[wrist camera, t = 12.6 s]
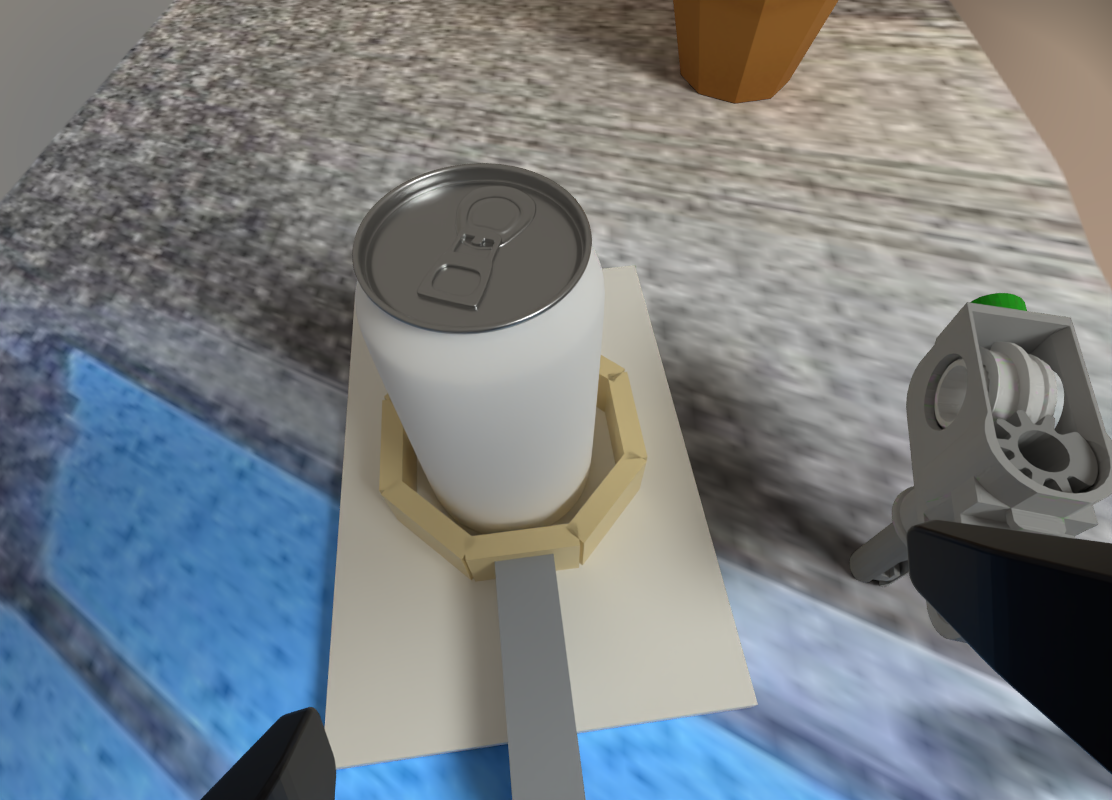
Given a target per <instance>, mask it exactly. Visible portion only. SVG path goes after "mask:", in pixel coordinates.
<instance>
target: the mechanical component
mask: <svg viewBox="0 0 1112 800" xmlns="http://www.w3.org/2000/svg"><path fill="white" fill-rule="evenodd" d="M1052 370H1053V371H1054V372H1056V373H1057V374H1058V376H1059V377H1060V379H1061V381H1062V384H1063V388H1064V406H1063V411H1062V414H1061V417H1060V420H1059V422H1058V424H1057V426H1056V427H1055V429H1054V425H1055V418H1054V417H1053V415H1054V411H1055V407H1056V403H1057V383H1056V378H1055V375H1054V373H1053V371H1052ZM906 410H907V421H908V431H909V440H910V450H911V460H912V470H913V479H914V486H913V487H910V488H908V489H906V490H904V491H903V492H901V493H900V494H899V495H898V496H897V498H896V499H895V501H894V504H893V507H892V521H893V522H892V523H891V524H890V525H889V526H887V527H886V528H885V529H883V530H882V531H881V532H879V533H878V534H877V535H876V536H874V537H873V538H872V539H870V540H869V541H868V542H867V543H865V544H864V545H863V546H861V547H860V548H859V549H858V550H856V551H855V552H854V553H853V554H852V556H851V558H850V569H851V572H852V574H853V576H854V577H855V578H856V580H859V581H861V582H866V583H868V582H870V581H871V580H873V579H875V580H879V586H881V587H886V586H888V585H890V584H892V583H893V582H895V581H897V580H898V579H900V578H902V577H903V576H905V575H907V574H908V573H909V567H908V553H907V539H906V534H907V531H908V529H909V528H910V527H911V526H913V525H916V524H920V523H923V522H926V521H930V520H943V521H951V522H958V523H965V524H973V525H980V526H987V527H994V528H1002V529H1009V530H1016V531H1024V532H1031V533H1038V534H1046V535H1053V536H1060V537H1068V538H1075V536H1076V535H1078V534H1080V533H1082V532H1084V531H1086V530H1088V529H1090V528H1093V527H1095V526H1097V525H1098V522H1097V519H1096V515H1095V511H1094V508H1093V504H1095V503H1097V502H1099V501H1101V500H1103V499H1105V498H1107V497H1108V496H1109V495H1111V494H1112V440H1111V438H1110V437H1109V436H1108V434H1107V433H1106V431H1105V427H1104V424H1103V421H1102V418H1101V414H1100V411H1099V408H1098V405H1097V401H1096V398H1095V395H1094V391H1093V388H1092V385H1091V382H1090V378H1089V375H1088V372H1087V369H1086V365H1085V362H1084V359H1083V355H1082V352H1081V349H1080V346H1079V342H1078V339H1077V336H1076V333H1075V329H1074V326H1073V323H1072V320H1071V318H1070V317H1063V316H1056V315H1050V314H1043V313H1036V312H1029V311H1027V309H1026V305H1025V302H1024V301H1023V300H1022V298H1020V297H1018V296H1016V295H1013V294H1008V293H996V294H990V295H986V296H982V297H979V298H977V299H975V300H973V301H972V302H970V303H969V302H967V303H966V304H965V305H964V307H963V308H962V309H961V310H960V311H959V312H958V314H957V315H956V316H955V317H954V318H953V320H952V321H951V322H950V323H949V324H948V325H947V327H946V328H945V329H944V330H943V331H942V333H941V334H940V335H939V336H938V337H937V338H936V342H935V345H934V346H933V347H932V349H931V350H930V351H929V352H928V353H927V354H926V356H925V357H924V358H923V359H922V360H921V362H920V363H919V364H918V366H917V368H916V369H915V371H914V374H913V376H912V378H911V381H910V384H909V389H908V393H907V402H906ZM1075 539H1076V538H1075ZM926 604H927V610H928V614H929V617H930V620H931V622H932V624H933V626H934V628H935V629H936V631H937V632H938V633H939V634H940V635H941V636H943V637H944V638H946V639H951V640H955V641H960V642H964V643H967V642H966V641H965V640H964V639H963V638H962V637H961V636H960V635H959V634H958V633H957V632H956V631H955V630H954V629H953V628H952V627H951V626H950V624H949V623H948V622H947V621H946V620H945V619H944V618H943V617H942V616H941V615H940V614H939V613H938V612H937V611H936V610H935V609H934V608H933V607H932V606H931V605H930V604H929V603H928V602H927V601H926Z"/></svg>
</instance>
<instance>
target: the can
mask: <svg viewBox="0 0 1112 800" xmlns="http://www.w3.org/2000/svg"><path fill="white" fill-rule="evenodd" d="M352 259H353V267H354V271H355V275H356V277H357V284H356V291H355V309H356V315H357V319H358V323H359V327H360V330H361V333H362V335H363V338H364V340H365V343H366V345H367V348H368V350H369V352H370V354H371V357H372V359H373V361H374V364H375V366H376V368H377V370H378V372H379V375H380V377H381V379H382V381H383V383H384V386H385V388H386V390H387V392H388V394H389V397H390V399H391V401H392V403H393V405H394V408H395V410H396V412H397V414H398V416H399V419H400V421H401V423H402V425H403V427H404V429H405V432H406V434H407V436H408V438H409V440H410V442H411V445H412V447H413V449H414V451H415V453H416V455H417V457H418V460H419V462H420V464H421V466H422V468H423V470H424V472H425V474H426V477H427V479H428V481H429V483H430V485H431V487H432V489H433V491H434V493H435V495H436V497H437V498H438V500H439V502H440V503H441V505H442V506H443V507H444V509H445V510H446V511H447V512H448V513H449V514H450V515H451V516H452V517H453V518H454V519H455V520H457V521H458V522H459V523H461V524H462V525H464V526H466V527H468V528H470V529H472V530H474V531H477V532H480V533H483V534H492V533H500V532H508V531H515V530H523V529H531V528H538V527H546V526H550V525H551V524H553V523H555V522H556V521H558V520H559V519H560V518H562V517H563V516H564V515H565V514H566V513H567V512H568V511H569V510H570V509H571V508H572V507H573V506H574V505H575V503H576V502H577V501H578V499H579V497H580V496H581V494H582V492H583V490H584V488H585V485H586V483H587V479H588V476H589V471H590V465H591V456H592V447H593V436H594V426H595V415H596V404H597V392H598V381H599V369H600V357H601V345H602V333H603V319H604V301H605V288H604V277H603V271H602V268H601V264H600V262H599V259H598V257H597V254H596V252H595V250H594V248H593V247H592V235H591V229H590V225H589V222H588V219H587V217H586V214H585V212H584V211H583V209H582V207H581V206H580V204H579V203H578V202H577V201H576V199H575V198H574V197H573V196H572V195H571V194H570V193H569V192H568V191H566V190H565V189H564V188H563V187H561V186H560V185H558V184H557V183H555V182H554V181H552V180H550V179H548V178H546V177H544V176H542V175H540V174H538V173H535V172H532V171H529V170H526V169H523V168H519V167H514V166H509V165H501V164H488V163H476V164H463V165H455V166H450V167H445V168H441V169H437V170H434V171H430V172H427V173H424V174H422V175H419V176H417V177H415V178H412V179H410V180H408V181H406V182H404V183H403V184H401V185H399V186H397V187H396V188H394V189H393V190H391V191H390V192H389V193H387V194H386V195H385V196H384V197H382V198H381V199H380V200H379V201H378V202H377V203H376V204H375V205H374V206H373V207H372V208H371V209H370V211H369V212H368V213H367V215H366V216H365V217H364V219H363V221H362V222H361V224H360V226H359V228H358V230H357V233H356V236H355V239H354V244H353V251H352Z"/></svg>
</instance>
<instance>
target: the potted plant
mask: <svg viewBox="0 0 1112 800" xmlns="http://www.w3.org/2000/svg"><path fill="white" fill-rule="evenodd" d="M837 2H838V0H673V3H674V12H675V22H676V32H677V42H678V52H679V62H680V71H681V75H682V76H683V77H684V78H685V80H686V81H687V82H688V83H689V84H690V85H691V86H692V87H693V88H694V89H695V90H696V91H697V92H698V93H699V94H702V95H706V96H710V97H713V98H717V99H721V100H724V101H728V102H732V103H741V102H748V101H756V100H763V99H770V98H772V97H773V96H774V95H775V94H776V93H777V92H778V91H779V90H780V89H781V88H782V87H783V86H784V85H785V84H786V83H787V82H788V81H789V80H790V78H791V77H792V75H793V73H794V72H795V70H796V68H797V67H798V65H799V64H800V62H801V60H802V59H803V57H804V55H805V54H806V52H807V51H808V49H809V47H810V46H811V44H812V42H813V41H814V39H815V38H816V36H817V34H818V33H819V31H820V29H821V28H822V26H823V25H824V23H825V21H826V20H827V18H828V16H829V15H830V13H831V12H832V10H833V8H834V7H835V5H836V3H837Z"/></svg>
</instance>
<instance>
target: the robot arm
mask: <svg viewBox="0 0 1112 800" xmlns="http://www.w3.org/2000/svg"><path fill="white" fill-rule="evenodd" d="M906 539H907V553H908V567H909V576H910V579H911V581H912V583H913V585H914V587H915V588H916V590H917V591H918V592H919V593H920V594H921V595H922V596H923V597H924V598H925V600H926V601H927V602H928V603H929V604H930V605H931V606H932V607H933V608H934V609H935V610H936V611H937V612H938V613H939V614H940V615H941V616H942V617H943V618H944V619H945V620H946V621H947V622H948V623H949V624H950V626H951V627H952V628H953V629H954V630H955V631H956V632H957V633H958V634H959V635H960V636H961V637H962V638H963V639H964V640H965V641H966V642H967V643H968V644H969V645H970V646H971V647H972V648H973V649H974V650H975V652H976V653H977V654H978V655H979V656H980V657H981V658H982V659H983V660H984V661H985V662H986V663H987V664H988V665H989V666H990V667H991V668H992V669H993V670H994V671H995V672H997V673H998V674H999V675H1000V676H1001V677H1002V678H1003V679H1004V680H1005V681H1006V682H1007V683H1009V684H1010V685H1011V686H1012V687H1013V688H1014V689H1015V690H1016V691H1018V692H1019V693H1020V694H1021V695H1022V696H1023V697H1024V698H1025V699H1027V700H1028V701H1029V702H1030V703H1031V704H1032V705H1033V706H1035V707H1036V708H1037V709H1038V710H1039V711H1040V712H1041V713H1043V714H1044V715H1045V716H1046V717H1047V718H1048V719H1049V720H1050V721H1052V722H1053V723H1054V724H1055V725H1056V726H1057V727H1058V728H1060V729H1061V730H1062V731H1063V732H1064V733H1065V734H1066V735H1068V736H1069V737H1070V738H1071V739H1072V740H1073V741H1074V742H1075V743H1077V744H1078V745H1079V746H1080V747H1081V748H1082V749H1083V750H1085V751H1086V752H1087V753H1088V754H1089V755H1090V756H1091V757H1093V758H1094V759H1095V760H1096V761H1097V762H1098V763H1099V764H1100V765H1102V766H1103V767H1104V768H1105V769H1106V770H1107V771H1108V772H1110V773H1111V774H1112V544H1111V543H1104V542H1097V541H1090V540H1082V539H1075V538H1068V537H1060V536H1053V535H1046V534H1038V533H1031V532H1024V531H1016V530H1009V529H1002V528H994V527H987V526H980V525H973V524H965V523H958V522H951V521H943V520H930V521H926V522H923V523H920V524H916V525H913V526H911V527H910V528H909V529H908V531H907V534H906ZM335 784H336V764H335V758H334V754H333V751H332V749H331V746H330V743H329V740H328V737H327V735H326V732H325V729H324V726H323V723H322V721H321V718H320V715H319V713H318V712H317V710H316V709H314V708H312V707H308V708H305V709H301V710H298V711H295V712H291V713H288V714H285V715H283V716H281V717H280V718H279V719H278V720H277V721H276V722H275V723H274V724H273V725H272V726H271V727H270V728H269V729H268V730H267V731H266V732H265V734H264V735H263V736H262V737H261V738H260V739H259V740H258V741H257V742H256V743H255V744H254V745H253V746H252V747H251V748H250V749H249V750H248V751H247V752H246V753H245V754H244V755H243V756H242V757H241V758H240V759H239V760H238V761H237V762H236V763H235V764H234V766H233V767H232V768H231V769H230V770H229V771H228V772H227V773H226V774H225V775H224V776H223V777H222V778H221V779H220V780H219V781H218V782H217V783H216V784H215V785H214V786H213V787H212V788H211V789H210V790H209V791H208V792H207V793H206V794H205V795H204V796H203V798H202V799H201V800H334V799H335Z"/></svg>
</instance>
